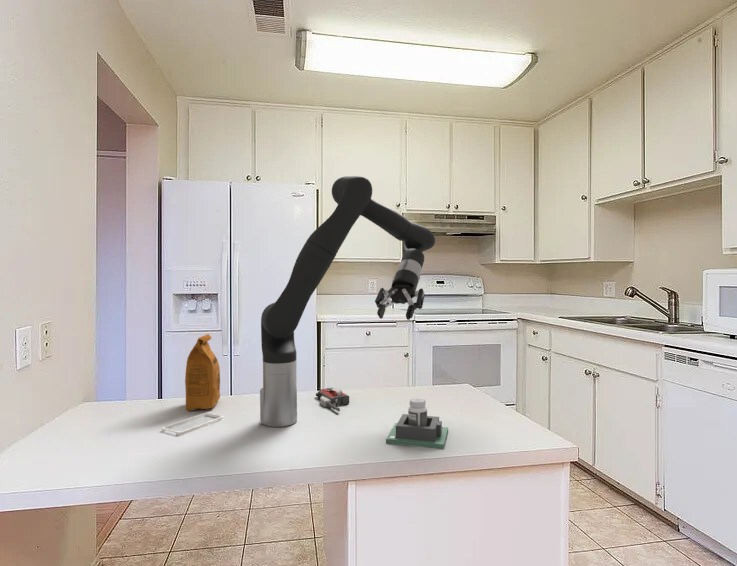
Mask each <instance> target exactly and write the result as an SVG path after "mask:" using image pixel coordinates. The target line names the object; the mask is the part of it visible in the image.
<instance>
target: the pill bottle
mask: <svg viewBox="0 0 737 566" xmlns="http://www.w3.org/2000/svg"><path fill="white" fill-rule="evenodd" d="M426 403H427V402H426V399H424V398H420V397H412V398H410V399H409V406H408V408H407V409H408V425H415V426H427V416H428V409H427V407H426V406H427V405H426Z"/></svg>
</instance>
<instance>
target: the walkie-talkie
mask: <svg viewBox="0 0 737 566" xmlns="http://www.w3.org/2000/svg"><path fill="white" fill-rule="evenodd" d="M315 396H316V397H317V398H318V400H319V403H320V405H322V406H323V407H324V408H331V409H333V410H336V411H337V412H340V411H341V409H340V408H339V407H338V406H336V405H339V406H343V405H342V404H345V405H349V404H350V395H348V394H346V393H344V392H343V391H342V390H341V389H339V388H336V387H335V388H334V387H333V386H331V387H326V388H320V389H319V390H318V391H317V392H316V393H315ZM348 403H349V404H348Z"/></svg>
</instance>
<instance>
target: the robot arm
mask: <svg viewBox="0 0 737 566" xmlns="http://www.w3.org/2000/svg"><path fill="white" fill-rule="evenodd" d="M331 186H332V187H331V196H332V198H333V201H334V202H335V203H336V206H335V207H336V208H335V209H334V211H333V212H332V213H331V215H330V216H329V217H328V218H327V219H326V220H325V221H323V222H322V224H321V225H319V226H318V227H317V228H316V229H315V230H313V232H312V233H311V234H310V235H309V237H308V238H307V239H306V241H305V243H304V244H303V247H302V248H301V249H300V251H299V253H298V255H297V258H296V259H295V262H294V264H293V265H294V266H293V268H292V271H291V273H290V277H289V279H288V282H287V284H286V286H285V287H284V289H283V291H282V292H281V294H280V295H279V296H278V298H277V300H276V301H274V302H272V303H270V304H269V305H267V306H266V307H265V308H264V309H263V311H262V313H261V318H260V330H261V331H260V335H261V338H260V339H261V341H260V342H261V352H262V354H261V355H262V387H261V388H260V389H259V407H260V409H259V416H260V419H259V421H260V422H259V423H260V424H263V425H265V426H268V427H273V428H275V427H278V428H280V427H287V426H291V425H293V424H296V423H297V421H298V402H297V401H298V395H297V393H298V391H297V390H298V389H297V388H298V387H297V382H298V381H297V379H298V378H297V350H296V349H297V348H296V344H295V331H296V329H297V327H298V325H299V323H300V322H301V321H300V320H301V319H302V316H303V314H304V311H305V309H306V307H307V305H308V303H309V300H310V299H311V296H312V295H313V293H314V292H315V290H317V288H318V286H319V285H320V283H321V282H322V280H323V278H324V277H325V275H326V273H327V271H329V268H330V267H331V265H332V263H333V261H334V259H335V258H336V256H337V254H338V252H339V250H340V249H341V247H342V245H343V244H344V242H345V240H346V238H347V236H348V235H349V233H350V231H351V229H352V228H353V227H354V225H355V224H356V222H357V220H358V219H359V218H360V217H363V218H365V219H366V220H368V221H369V222H371V223H373V224H374V225H376V226H378V227H379V228H380V229H382V230H383V231H385V232H386V233H387V234H389V235H390V236H391V237H392V238H395V239H397V240H398V241H401V242H402V257H401V259H400V260H401V261H400V263H399V265H398V267H397V269H396V271H395V274H394V278H393V280H392V282H391V287H390V288H389V289H385V288H384V287H381V288H380V289H379V292H378V293H377V296H376V297H375V299H374V303H375V305H376V307H377V308H378V309H377V310H376V311H377V314H376V315H377V316H378V317H379V319H381V320H382V319H383V318H384V316H385V312H386V309H387V308H389V307H391V306H393V305H394V304H396V305H398V304H401V305H402V304H403V305H405V304H407V305H408V306H407V310H406V313H405V318H406V320H407V321H410V320H411V319H412V318H413V316H414V313H415V311H416V310H417V309H418V310H422V308H423V307H424V302H425V296H426V295H425V291H424V288H423V287H421V288H419V289H418V290H417V288H418V284H419V281H420V279H421V275H422V274H421V273H422V269H423V266H424V262H425V255H424V253H423V252H426V251H428V250H430V249H432V248H433V247H435V243H436V237H435V235H434V233H433V232H432V230H430V229H429V228H428V227H425V226H423V225H420V224H418V223H416V222H411V221H410V220H408V219H407V218H406V217H405V216H404V215H402V214H401V213H399V212H398V211H397V210H394V209H392V208H390V207H388V206H386V205H383V203H382V204H381V203H380V202H378V201H376V200H375V199H373V198H372V197H373V186H372V183H371V181H370V180H369V179H368V178H367V177H365V176H361V175H351V176H350V175H347V176H341V177H339V178H337V179H336V180H335V181H334V182H333V184H332V185H331ZM414 297H416V302H414V300H413V299H414Z"/></svg>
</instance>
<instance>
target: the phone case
mask: <svg viewBox="0 0 737 566" xmlns="http://www.w3.org/2000/svg"><path fill="white" fill-rule="evenodd" d="M203 417H211V418H214V419H211V420H209V421H206V422H205V421H204V422H203V423H201V424H198V425H195V426H192V427H189V428H187V429H183V430H181V431H179V430H177V431H176V430H173V429H172V428H175V427H178V426H181V425H183V424H186V423H189V422H192V421H194V420H197V419H200V418H203ZM222 419H223V420H224V416H223V415H219V414H214V413H211V412H203V413H201V414H198V415H197V414H196V415H195V416H191V417H189V418H186V419H183V420H181V421H178V422H174V423H172V424H169V425H166V426H163V427H162V428H161V432H163V433H165V432H166V431H167V432H170V433H171V432H172V433H175V435H176V436H184V435H186V434H189V433H192V432H193V431H196V430H199V429H202V428H204V427H207V426H208V424H210V423H213V422H216V421H219V422H220V421H222Z"/></svg>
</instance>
